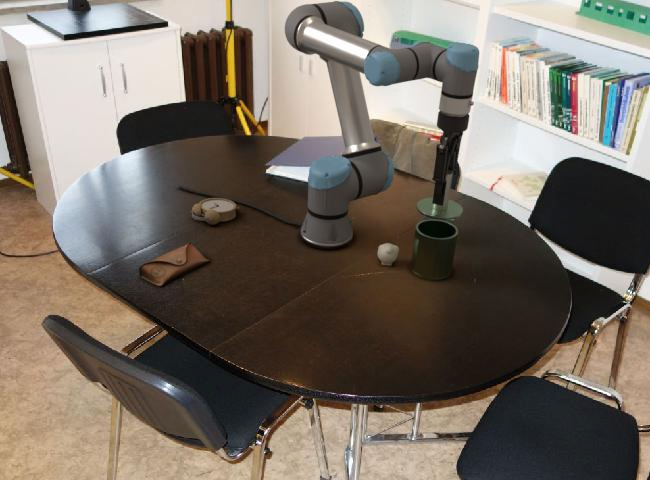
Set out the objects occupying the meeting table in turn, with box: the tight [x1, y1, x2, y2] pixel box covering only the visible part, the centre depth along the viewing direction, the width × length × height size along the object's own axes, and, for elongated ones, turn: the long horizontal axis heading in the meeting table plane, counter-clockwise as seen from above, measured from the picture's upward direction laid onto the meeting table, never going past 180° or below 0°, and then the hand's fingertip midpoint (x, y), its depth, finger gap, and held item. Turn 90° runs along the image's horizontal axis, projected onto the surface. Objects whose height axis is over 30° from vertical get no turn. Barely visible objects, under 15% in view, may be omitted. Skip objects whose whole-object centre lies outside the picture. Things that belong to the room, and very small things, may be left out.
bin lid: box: [416, 169, 464, 220], centre depth 177 cm, size 12×12×11 cm
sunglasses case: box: [138, 241, 210, 287], centre depth 182 cm, size 18×7×7 cm, turn 144°
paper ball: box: [377, 242, 400, 266], centre depth 190 cm, size 6×6×6 cm
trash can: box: [410, 219, 459, 281], centre depth 186 cm, size 11×11×13 cm
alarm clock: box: [190, 197, 240, 226], centre depth 208 cm, size 11×5×15 cm
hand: (440, 200), depth 178 cm, fingers closed on bin lid, 4 cm apart
